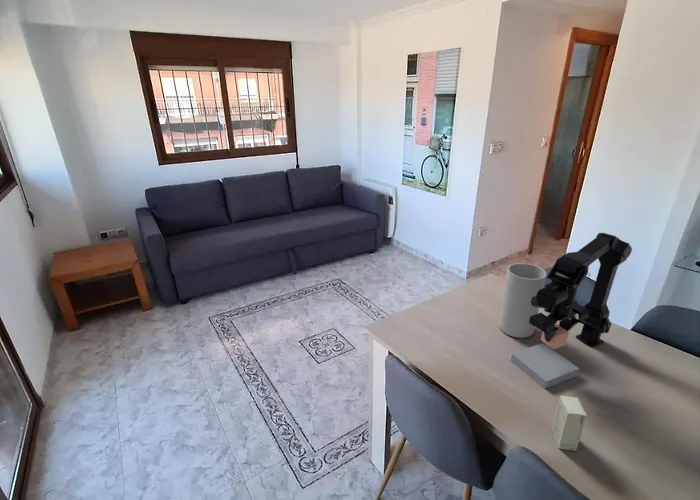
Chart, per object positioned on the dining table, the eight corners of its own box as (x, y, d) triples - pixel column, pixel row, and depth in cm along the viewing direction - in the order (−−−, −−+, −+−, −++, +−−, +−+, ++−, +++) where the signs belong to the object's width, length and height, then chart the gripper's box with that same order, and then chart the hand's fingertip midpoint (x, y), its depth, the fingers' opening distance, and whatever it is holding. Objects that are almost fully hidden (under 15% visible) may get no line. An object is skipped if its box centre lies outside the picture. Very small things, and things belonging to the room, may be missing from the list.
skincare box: (576, 451, 93) (587, 417, 88) (558, 449, 94) (568, 414, 89) (568, 430, 99) (578, 396, 94) (550, 428, 100) (560, 394, 95)
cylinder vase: (539, 338, 135) (552, 279, 125) (505, 339, 135) (515, 279, 125) (525, 319, 146) (536, 263, 136) (493, 319, 147) (502, 263, 137)
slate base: (541, 349, 129) (543, 342, 128) (577, 375, 117) (579, 368, 116) (510, 360, 125) (511, 353, 123) (544, 388, 113) (546, 381, 112)
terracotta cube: (551, 335, 119) (555, 323, 117) (565, 344, 115) (569, 331, 113) (540, 339, 117) (543, 327, 115) (553, 349, 113) (557, 336, 111)
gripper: (562, 278, 119) (553, 318, 126) (519, 290, 113) (511, 332, 119) (595, 294, 110) (583, 337, 116) (549, 308, 104) (539, 353, 110)
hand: (553, 339), depth 116 cm, fingers closed on terracotta cube, 5 cm apart
